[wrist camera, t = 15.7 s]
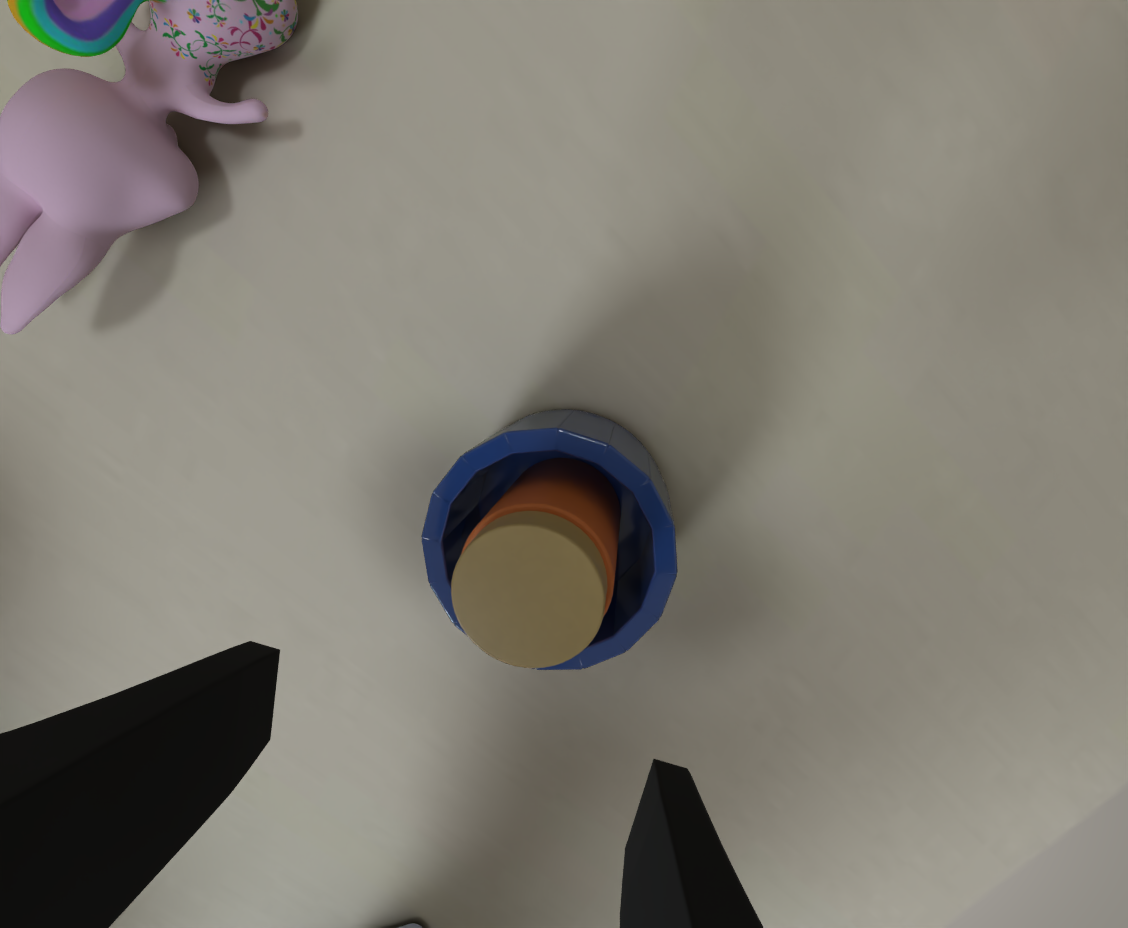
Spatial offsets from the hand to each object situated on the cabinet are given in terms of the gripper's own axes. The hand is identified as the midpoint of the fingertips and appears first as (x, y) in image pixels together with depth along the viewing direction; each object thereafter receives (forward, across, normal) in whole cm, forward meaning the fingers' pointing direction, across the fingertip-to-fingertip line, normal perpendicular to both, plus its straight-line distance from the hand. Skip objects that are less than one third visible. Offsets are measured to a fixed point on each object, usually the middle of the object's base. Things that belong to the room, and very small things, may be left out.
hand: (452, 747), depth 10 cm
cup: (+10, 0, -2) cm, 10 cm away
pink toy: (+10, +14, -11) cm, 20 cm away
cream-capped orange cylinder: (+9, 0, -2) cm, 9 cm away
